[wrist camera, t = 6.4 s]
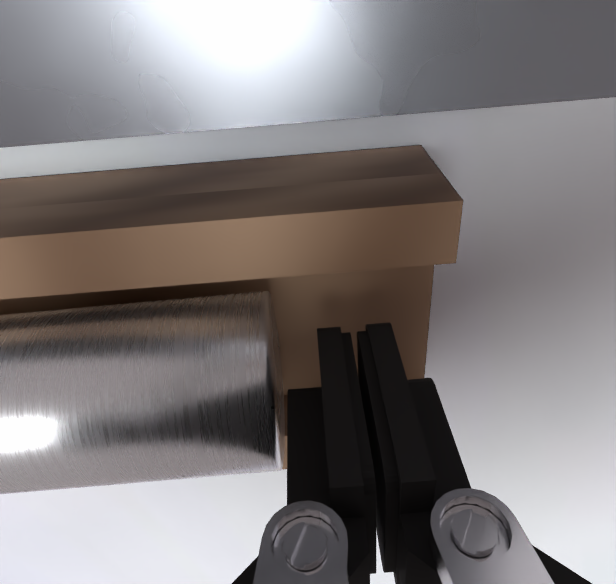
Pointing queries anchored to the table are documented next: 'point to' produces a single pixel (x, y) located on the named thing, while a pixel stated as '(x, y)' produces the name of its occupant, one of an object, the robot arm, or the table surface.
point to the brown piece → (243, 243)
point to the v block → (286, 61)
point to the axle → (140, 393)
